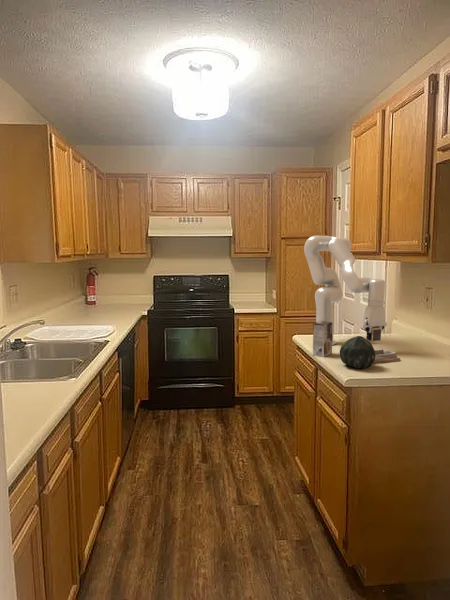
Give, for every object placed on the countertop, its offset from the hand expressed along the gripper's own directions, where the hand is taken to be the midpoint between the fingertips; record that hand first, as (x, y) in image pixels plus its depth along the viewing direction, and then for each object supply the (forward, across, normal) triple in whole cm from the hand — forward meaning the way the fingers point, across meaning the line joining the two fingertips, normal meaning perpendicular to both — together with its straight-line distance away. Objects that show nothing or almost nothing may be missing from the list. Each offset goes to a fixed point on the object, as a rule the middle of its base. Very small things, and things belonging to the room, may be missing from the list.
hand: (373, 339), depth 215 cm
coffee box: (+7, +27, -5) cm, 28 cm away
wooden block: (+2, 0, 0) cm, 2 cm away
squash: (+7, +25, +20) cm, 33 cm away
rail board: (+6, +9, +13) cm, 17 cm away
